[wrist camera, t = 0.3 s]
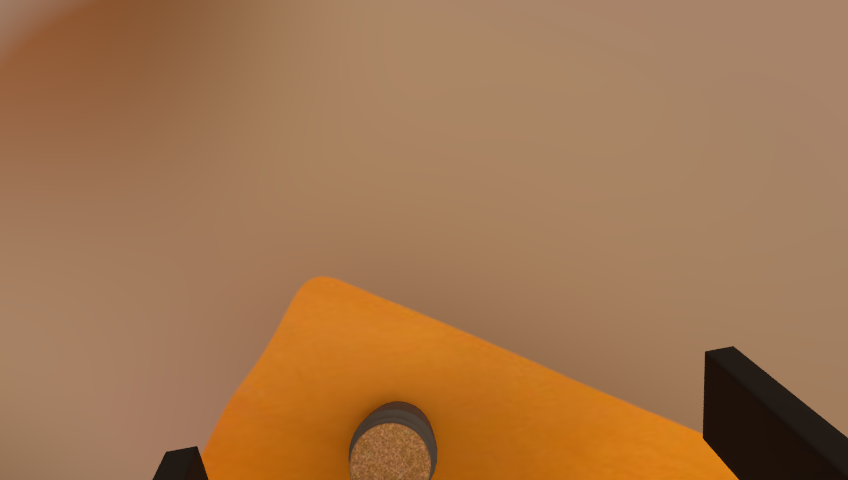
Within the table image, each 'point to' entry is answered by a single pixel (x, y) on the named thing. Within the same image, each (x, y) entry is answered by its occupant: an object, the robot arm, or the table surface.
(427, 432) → the bottle
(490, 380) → the table surface
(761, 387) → the robot arm
